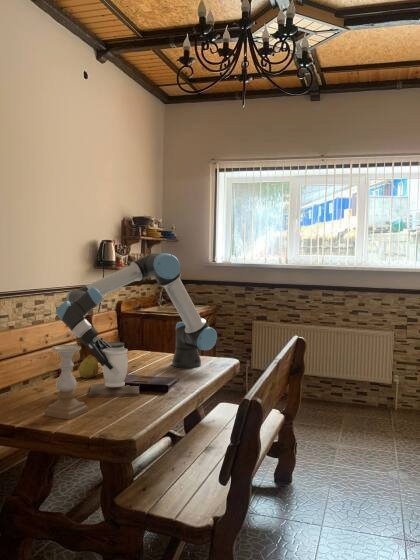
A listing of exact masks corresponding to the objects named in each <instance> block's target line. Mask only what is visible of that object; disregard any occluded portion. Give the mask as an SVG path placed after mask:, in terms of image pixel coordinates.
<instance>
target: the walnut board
mask: <svg viewBox="0 0 420 560" xmlns="http://www.w3.org/2000/svg"><path fill="white" fill-rule="evenodd" d="M133 396H134V397H135V396H136V397H137V396H138V397H139V396H140V385H139V386H130V385H126V386H125V385H124V386H121V387H107V386H105V383H91V387H90V389H89V393H88V398H101V397H105V398H106V397H133Z"/></svg>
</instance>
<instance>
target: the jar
mask: <svg viewBox="0 0 420 560" xmlns="http://www.w3.org/2000/svg"><path fill="white" fill-rule="evenodd" d="M103 352H104V353H105V355H106V357H107V359H108V361H109V360H110V361H111V362H112V363H113V364H114V365H115V366H116V367H117V368H118V369H119V370H120V373H119V374H118V375H117V376H116V377H115V375H114V374H113V373H112V372H111V371H110V370H109V369H108V368H107V367H106V366H105V365H104V366H102V365H101V367H102V368H101V369H102V373H103V379H104V381H105V382H104V384H105V386H107V387H121V386H124V385H125V383H126V382H125V380H126V377H127V373H128V367H129V359H128V358H129V357H128V354H127V353H129V349H128V348H125V347H124V348H107V349H103Z"/></svg>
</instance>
